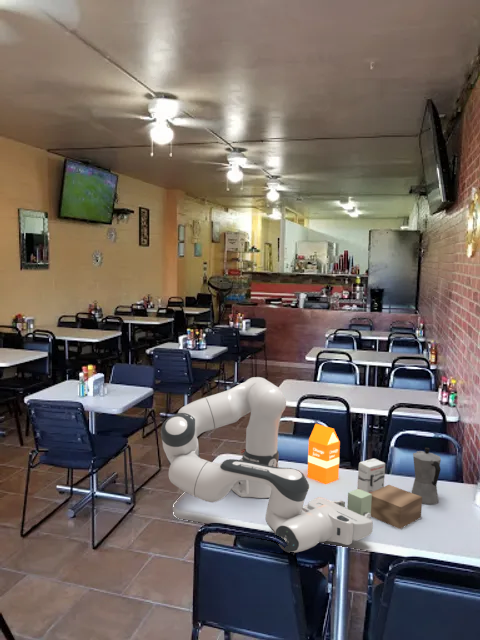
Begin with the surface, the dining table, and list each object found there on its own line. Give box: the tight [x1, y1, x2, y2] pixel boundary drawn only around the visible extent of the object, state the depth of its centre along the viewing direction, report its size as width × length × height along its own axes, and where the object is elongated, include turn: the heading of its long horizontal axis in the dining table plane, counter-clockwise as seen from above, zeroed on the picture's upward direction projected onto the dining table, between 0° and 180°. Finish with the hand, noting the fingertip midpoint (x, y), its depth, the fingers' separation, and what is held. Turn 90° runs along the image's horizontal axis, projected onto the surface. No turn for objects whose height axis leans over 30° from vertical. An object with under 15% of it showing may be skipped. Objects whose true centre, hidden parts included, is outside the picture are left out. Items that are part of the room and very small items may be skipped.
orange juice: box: [307, 423, 341, 485], centre depth 189 cm, size 8×9×20 cm
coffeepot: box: [411, 447, 442, 506], centre depth 172 cm, size 15×9×18 cm, turn 6°
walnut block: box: [370, 484, 423, 530], centre depth 161 cm, size 12×12×7 cm
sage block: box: [346, 488, 372, 520], centre depth 154 cm, size 5×5×10 cm
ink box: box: [356, 458, 386, 493], centre depth 176 cm, size 8×5×12 cm, turn 123°
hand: (355, 509), depth 152 cm, fingers open, 8 cm apart
